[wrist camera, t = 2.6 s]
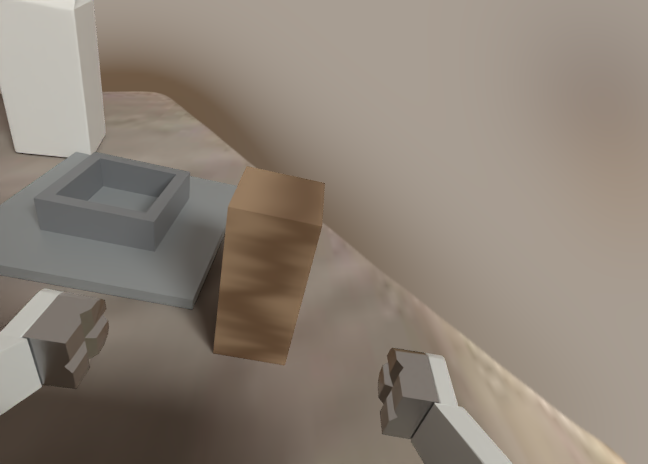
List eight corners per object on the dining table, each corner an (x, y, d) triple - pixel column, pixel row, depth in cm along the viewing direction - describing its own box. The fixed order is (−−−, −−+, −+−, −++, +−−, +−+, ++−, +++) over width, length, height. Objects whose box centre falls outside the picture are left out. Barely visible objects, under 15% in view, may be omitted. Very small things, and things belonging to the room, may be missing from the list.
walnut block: (213, 353, 27) (227, 206, 20) (230, 301, 31) (246, 166, 24) (284, 365, 27) (322, 226, 21) (291, 313, 31) (324, 183, 25)
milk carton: (39, 127, 47) (2, -68, 36) (106, 135, 49) (89, -48, 38) (15, 153, 41) (-38, -69, 31) (91, 161, 43) (67, -45, 33)
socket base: (-64, 263, 28) (-84, 217, 26) (77, 160, 43) (72, 125, 40) (192, 309, 29) (194, 269, 27) (241, 194, 44) (245, 163, 42)
